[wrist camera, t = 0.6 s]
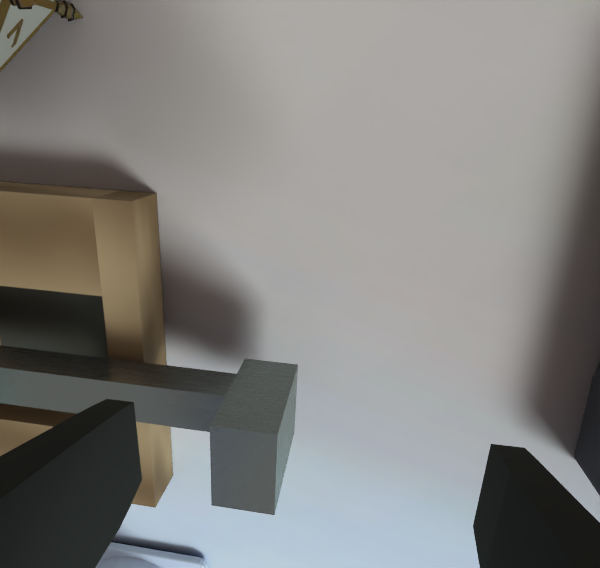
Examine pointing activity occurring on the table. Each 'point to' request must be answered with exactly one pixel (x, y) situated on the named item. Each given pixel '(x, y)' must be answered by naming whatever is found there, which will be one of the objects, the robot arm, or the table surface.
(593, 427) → the sliding block puzzle
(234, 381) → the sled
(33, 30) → the game die
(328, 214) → the table surface
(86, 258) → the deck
